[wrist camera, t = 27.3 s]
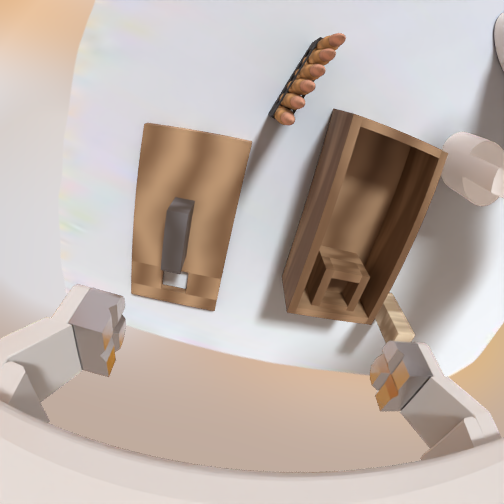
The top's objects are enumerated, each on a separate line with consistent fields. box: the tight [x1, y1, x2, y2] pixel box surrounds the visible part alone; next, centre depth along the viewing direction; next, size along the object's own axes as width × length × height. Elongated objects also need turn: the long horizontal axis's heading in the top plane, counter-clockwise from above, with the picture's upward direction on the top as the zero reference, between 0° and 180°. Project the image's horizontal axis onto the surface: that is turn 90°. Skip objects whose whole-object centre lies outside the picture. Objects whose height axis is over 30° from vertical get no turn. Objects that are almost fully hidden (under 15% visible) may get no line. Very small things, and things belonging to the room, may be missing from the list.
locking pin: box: [375, 293, 415, 343], centre depth 43 cm, size 3×3×10 cm
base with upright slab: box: [441, 132, 504, 206], centre depth 31 cm, size 9×9×12 cm
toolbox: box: [282, 109, 448, 325], centre depth 36 cm, size 12×24×8 cm, turn 167°
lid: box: [131, 123, 252, 311], centre depth 39 cm, size 13×25×6 cm, turn 167°
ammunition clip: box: [269, 33, 346, 125], centre depth 27 cm, size 11×2×12 cm, turn 151°
